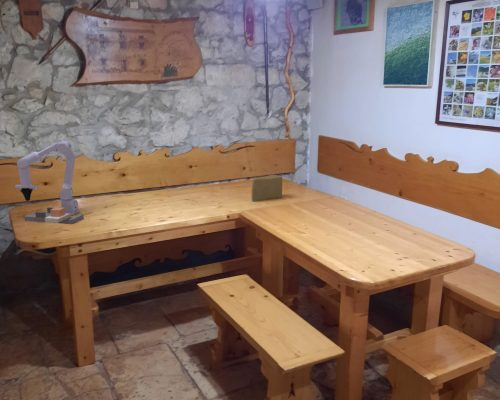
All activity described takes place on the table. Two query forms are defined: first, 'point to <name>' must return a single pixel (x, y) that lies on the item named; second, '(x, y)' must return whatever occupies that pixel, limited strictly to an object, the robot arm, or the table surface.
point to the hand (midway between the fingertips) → (27, 200)
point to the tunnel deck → (47, 217)
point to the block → (58, 211)
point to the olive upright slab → (266, 188)
